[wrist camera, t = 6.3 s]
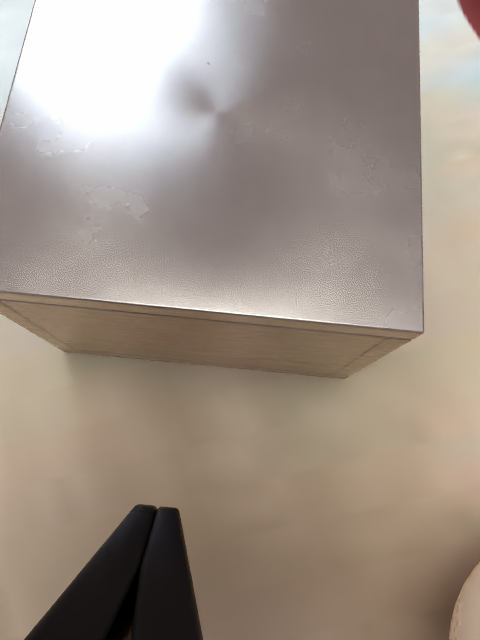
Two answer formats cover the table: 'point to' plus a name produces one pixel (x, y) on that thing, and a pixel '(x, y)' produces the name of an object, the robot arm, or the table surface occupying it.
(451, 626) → the trinket box
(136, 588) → the robot arm
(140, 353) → the tin
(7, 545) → the table surface
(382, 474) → the table surface
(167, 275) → the lid
